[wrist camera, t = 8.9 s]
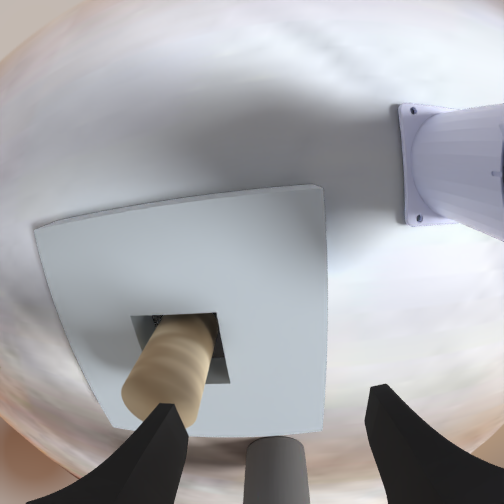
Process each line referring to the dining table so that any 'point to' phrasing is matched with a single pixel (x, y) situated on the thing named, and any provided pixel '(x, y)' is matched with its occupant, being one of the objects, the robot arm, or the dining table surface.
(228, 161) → the dining table surface
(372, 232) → the dining table surface
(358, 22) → the dining table surface
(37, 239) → the socket block
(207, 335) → the peg
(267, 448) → the bottle
